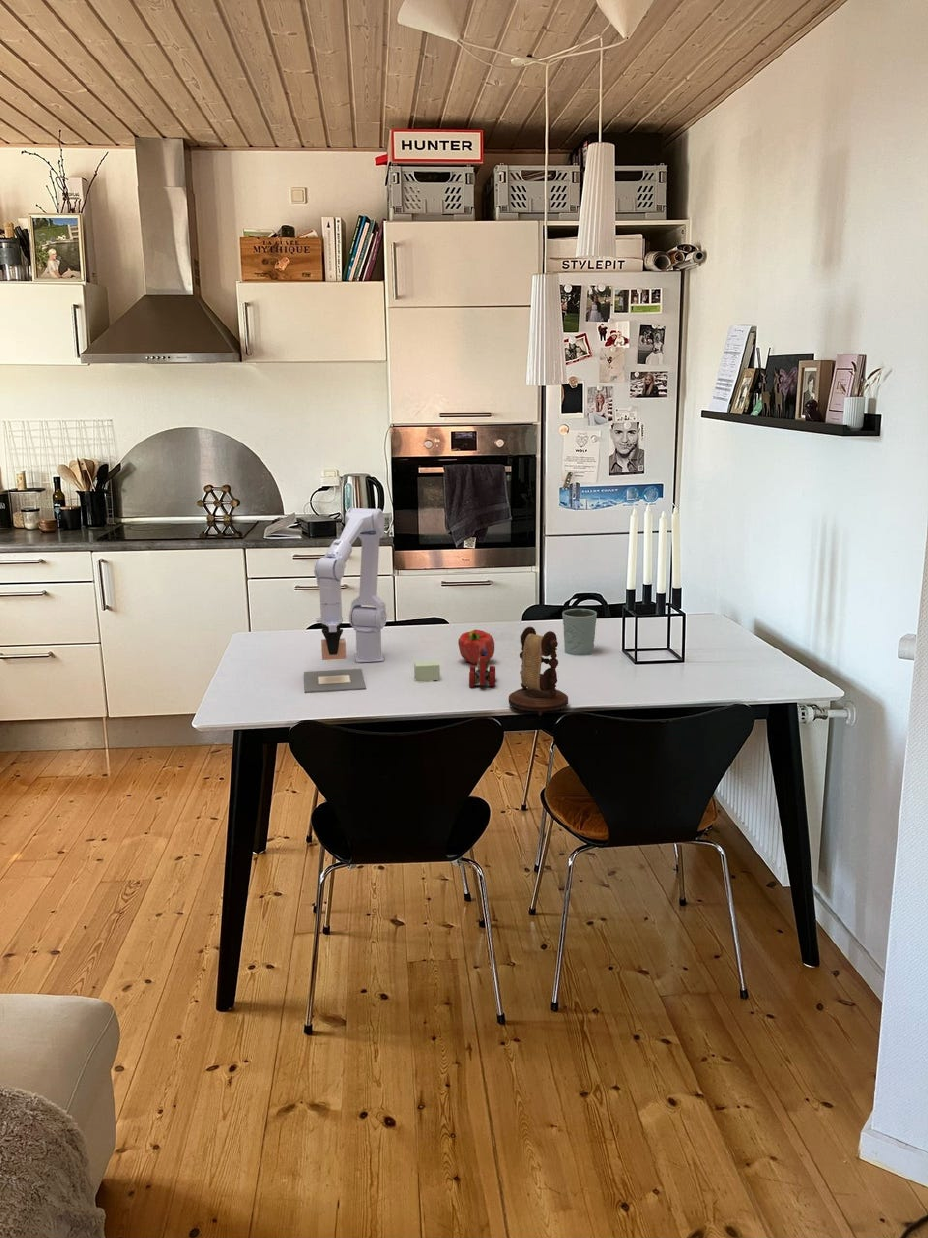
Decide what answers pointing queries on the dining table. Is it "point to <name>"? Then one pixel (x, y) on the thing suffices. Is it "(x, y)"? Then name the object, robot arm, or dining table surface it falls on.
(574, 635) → the grey green cup
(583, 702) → the dining table surface
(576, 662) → the dining table surface
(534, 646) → the scroll
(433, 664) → the sage brick
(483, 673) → the toy fire truck
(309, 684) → the mat
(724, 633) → the dining table surface
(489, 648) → the vegetable
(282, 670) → the dining table surface
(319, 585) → the robot arm
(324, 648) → the terracotta brick
